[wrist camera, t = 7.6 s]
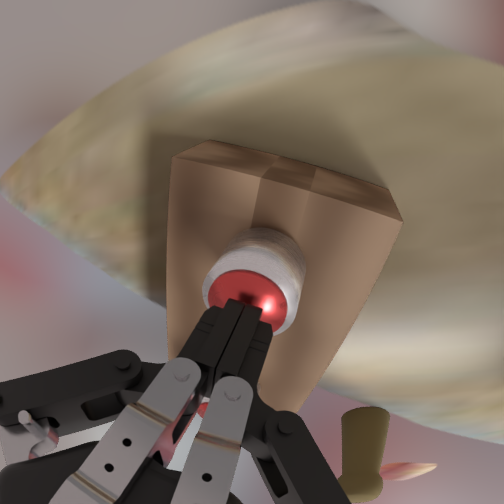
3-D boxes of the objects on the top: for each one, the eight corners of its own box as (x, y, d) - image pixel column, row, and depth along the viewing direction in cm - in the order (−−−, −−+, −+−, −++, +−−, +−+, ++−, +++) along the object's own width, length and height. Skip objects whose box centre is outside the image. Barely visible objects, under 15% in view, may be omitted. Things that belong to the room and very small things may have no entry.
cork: (331, 419, 31) (316, 500, 22) (367, 401, 28) (359, 492, 19) (363, 433, 32) (354, 508, 23) (399, 416, 28) (396, 499, 19)
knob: (320, 216, 17) (308, 284, 12) (301, 275, 20) (281, 352, 14) (248, 195, 18) (203, 251, 12) (237, 256, 20) (196, 324, 15)
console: (388, 189, 17) (403, 222, 13) (299, 381, 29) (290, 422, 24) (209, 139, 19) (171, 156, 15) (190, 345, 30) (169, 380, 26)
